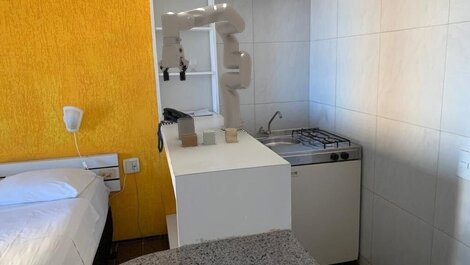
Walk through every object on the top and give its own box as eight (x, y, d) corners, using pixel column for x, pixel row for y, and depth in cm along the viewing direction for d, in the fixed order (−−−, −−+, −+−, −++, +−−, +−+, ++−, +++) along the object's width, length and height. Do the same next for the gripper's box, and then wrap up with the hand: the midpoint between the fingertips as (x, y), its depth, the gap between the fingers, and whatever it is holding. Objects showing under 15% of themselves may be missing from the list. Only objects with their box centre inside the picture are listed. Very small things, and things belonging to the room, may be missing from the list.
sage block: (203, 143, 177) (203, 130, 176) (214, 142, 178) (213, 130, 176) (204, 145, 172) (203, 132, 171) (215, 144, 173) (214, 131, 172)
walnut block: (182, 144, 177) (181, 134, 176) (196, 143, 178) (196, 133, 177) (182, 147, 170) (181, 137, 169) (197, 146, 171) (197, 135, 170)
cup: (192, 140, 185) (190, 120, 183) (176, 140, 186) (174, 120, 185) (197, 136, 193) (195, 117, 191) (182, 136, 195) (180, 117, 193)
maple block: (225, 141, 179) (224, 128, 178) (235, 140, 180) (235, 128, 179) (227, 143, 174) (226, 130, 173) (237, 142, 175) (236, 129, 174)
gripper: (192, 40, 163) (194, 79, 167) (162, 43, 172) (165, 80, 176) (181, 40, 157) (184, 81, 160) (151, 43, 166) (154, 81, 169)
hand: (174, 80), depth 168 cm, fingers open, 9 cm apart
